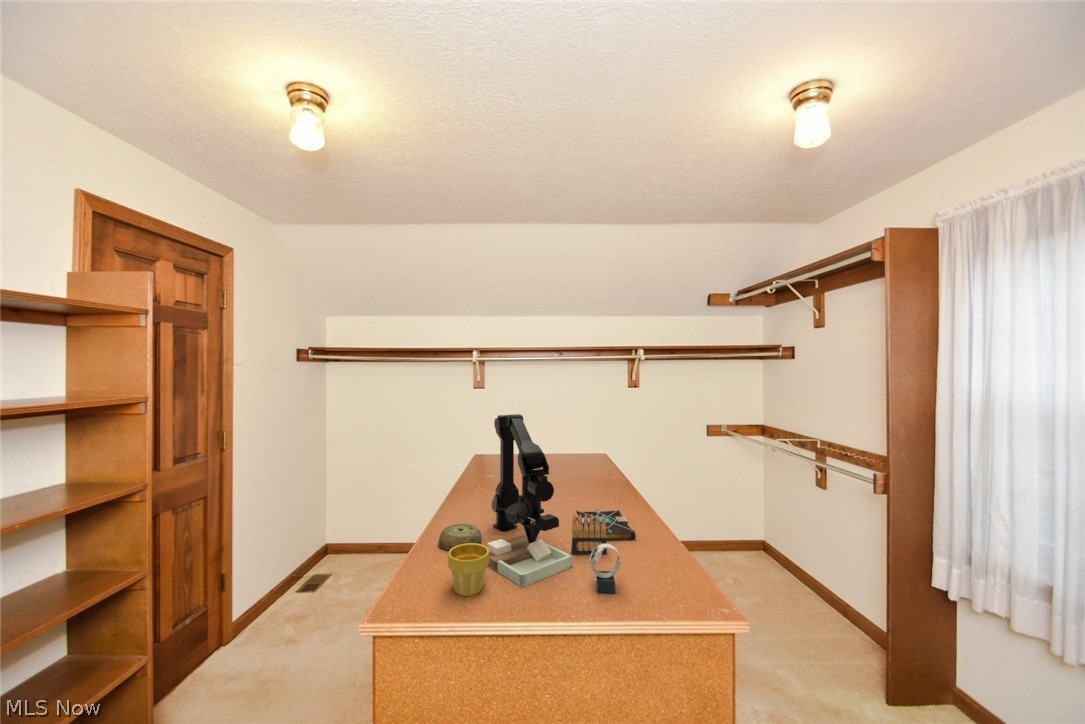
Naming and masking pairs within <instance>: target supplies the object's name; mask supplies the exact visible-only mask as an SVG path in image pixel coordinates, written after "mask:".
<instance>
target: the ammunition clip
mask: <svg viewBox="0 0 1085 724" xmlns="http://www.w3.org/2000/svg"><path fill="white" fill-rule="evenodd" d="M572 517H573V518H572V527H571V551H570V553H571V554H570V555H571V556H591V553H592V551H593V549H594V548H595V547H596V546H597V545H600V544H607V540H606V524H605V516H604V514H603V515H602V522H601V536H600V521H599V515H598V514H597V516H596V524H595V536H594V519H593V515H592V514H591V516H590V526H589V528H588V518H587V514H585V518H584V528H583V526H582V516H581V514H580V515H579V520H578V521H577V519H576V517H577V515H576V513H574V514H573V516H572ZM577 522H578V523H577ZM607 555H608V548H604V550H603V551H602V555H601V556H607Z"/></svg>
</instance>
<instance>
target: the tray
mask: <svg viewBox="0 0 1085 724" xmlns="http://www.w3.org/2000/svg"><path fill="white" fill-rule="evenodd" d="M545 544H546V545H547V547H548V548H549V549H550V551H551V554H550V556H549V557H547V558H545V559H543V560H541V561H538V562H536V560H535V559H534V557H532V558H529V559H526V560H523V561H521V562H518V563H515V564H512V565H508V564H506V563H505V562H503V561H501V560H500V561H498V572H497V573H499V574H500V575H502V576H503V577H505V578H506V579H508V580H510V581H511V582H513V583H514V584H516V585H517V586H519V587H520V588H524V587H527V586H529V585H531V584H534V583H536V582H538V581H541V580H543V579H546V578H548V577H551V576H553V575H556V574H557V573H561V572H563V571H565V570H567V569H570V568H572V567H573V555H572V554H569V553H567V552H565V551H562V550H560V549H559V548H556V547H554V546H552V545H550V544H548V543H545Z"/></svg>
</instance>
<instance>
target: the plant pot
mask: <svg viewBox="0 0 1085 724" xmlns="http://www.w3.org/2000/svg"><path fill="white" fill-rule="evenodd" d="M447 564H448V568H449V569H450V571H451V576H452V582H453V586H454V592H455V593H456V594H457V595H459V596H463V597H471V596H475V595H477V594H478V593H480V592H481V591H482V588H483V582H484V578H485V573H486V568H487V567H489V566H488V564H489V549H488V548H487V546H485V545H484V544H481V543H480V544H476V543H467V544H461V545H458V546H455V547H453V548H452V549H451V550H448V553H447Z"/></svg>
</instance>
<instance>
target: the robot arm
mask: <svg viewBox="0 0 1085 724" xmlns="http://www.w3.org/2000/svg"><path fill="white" fill-rule="evenodd" d="M493 425H494V429H495V433H496V435H497V436H498V438H499V440H500V444H499V445H500V448H499V449H500V457H499V458H500V463H499V464H500V465H499V466H500V468H499V470H500V473H499V474H500V481H499V482H498V485H496V488H495V493H494V495H493V499H492V500H491V510H492V511H493V512H494V513H496V516H495V517H496V520H495V522H496V523H495V524H493V525H492V527H493V528H495V529H496V530H499V531H501V532H505V531H509V530H512V529H516V528H518V525H517V524H520V525H521V526H522V527H523V529H524V532H525V535H526V536H527V539H528V542H529V544H530V543H532V542H535V541H537V539H538V536H539V534H540V532H546V531H550V530H553V529H555V528H560V518H559V517H558V516H555V515H553V514H551V513H547V514H544V513H545V509H544V508H542V502H543V503H544V502H545V503H546V502H548V501H549V500H551V499H552V498H553V496H554V493H555V488H554V485H553V484H552V482H551V481H549V480H548V476H547V475H550V471H549V470H550V466H549V463H548V460H547V458H546V454H545V452H544V451H543V449H541V447H540V445H538V444H537V443H534V442H533V440H532V438H531V436H530V433H529V431H528V428H527V427H526V425H525V422H524V416H523V414H519V413H518V414H503V415H502V414H501V415H497V418H495V419H494V422H493ZM515 444H516V446H517V449H518V455H517V465H518V467H519V470H520V474H521V494H520V490H519V488H517V485H516V484H515V481H514V479H515V478H514V475H515V471H514V470H515V469H514V466H515V465H514V464H515V463H514V462H515V459H514V458H515V457H514V455H515V452H514V449H515V446H514V445H515ZM543 514H544V515H543Z"/></svg>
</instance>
